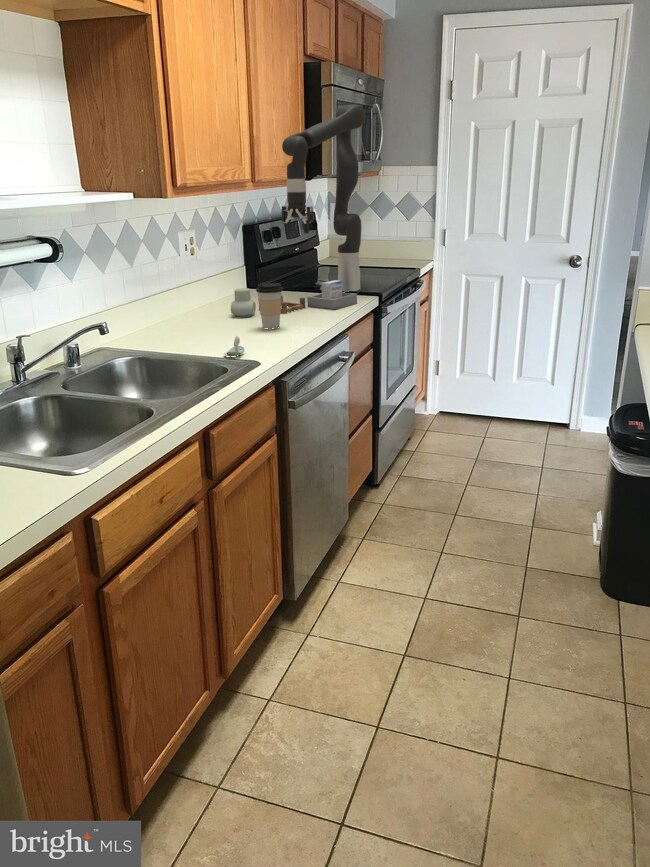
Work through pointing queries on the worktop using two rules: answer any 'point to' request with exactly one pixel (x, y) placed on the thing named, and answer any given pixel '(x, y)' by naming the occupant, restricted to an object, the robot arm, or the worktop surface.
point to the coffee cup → (270, 304)
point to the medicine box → (332, 289)
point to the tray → (332, 301)
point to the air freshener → (243, 303)
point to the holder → (291, 305)
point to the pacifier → (235, 348)
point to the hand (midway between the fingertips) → (297, 233)
